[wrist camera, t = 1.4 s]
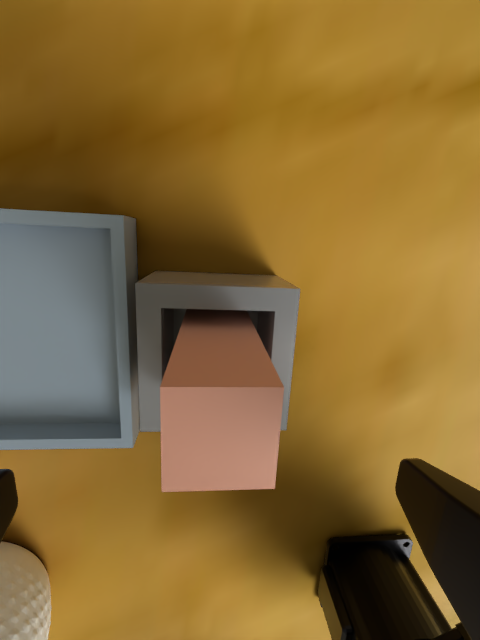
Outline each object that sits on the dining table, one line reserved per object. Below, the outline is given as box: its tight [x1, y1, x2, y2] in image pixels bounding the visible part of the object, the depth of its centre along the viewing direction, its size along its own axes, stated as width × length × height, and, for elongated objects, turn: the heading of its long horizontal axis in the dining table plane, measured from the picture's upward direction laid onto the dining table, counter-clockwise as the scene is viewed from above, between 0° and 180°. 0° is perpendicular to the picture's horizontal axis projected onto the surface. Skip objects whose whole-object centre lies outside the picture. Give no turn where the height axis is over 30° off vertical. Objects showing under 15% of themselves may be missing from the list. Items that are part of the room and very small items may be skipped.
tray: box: [0, 209, 140, 450], centre depth 16 cm, size 12×12×2 cm
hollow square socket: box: [135, 271, 300, 432], centre depth 16 cm, size 7×7×5 cm
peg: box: [160, 309, 284, 492], centre depth 13 cm, size 3×3×10 cm
